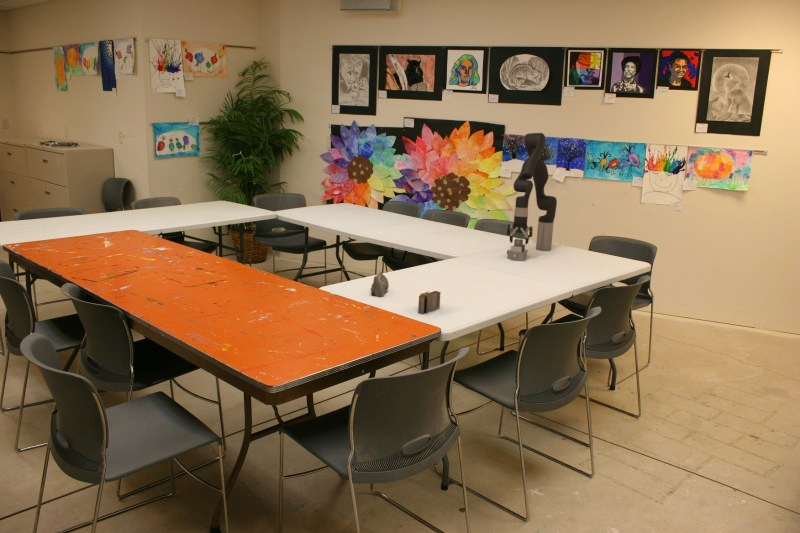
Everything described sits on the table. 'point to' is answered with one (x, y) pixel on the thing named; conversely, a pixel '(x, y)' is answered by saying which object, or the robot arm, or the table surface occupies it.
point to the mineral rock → (379, 285)
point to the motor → (517, 253)
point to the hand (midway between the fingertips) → (518, 243)
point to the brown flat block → (429, 302)
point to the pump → (518, 242)
